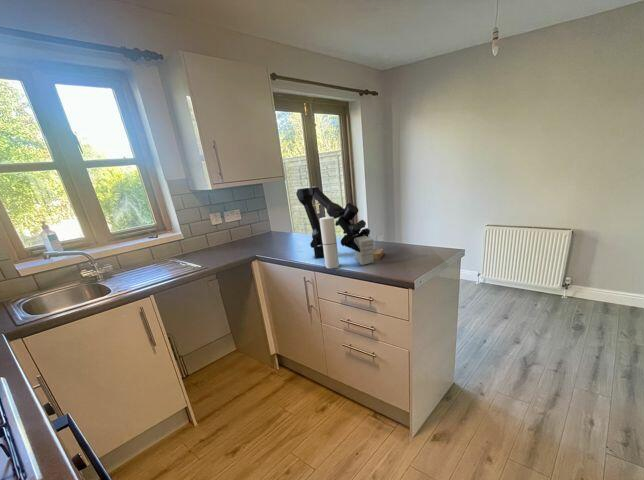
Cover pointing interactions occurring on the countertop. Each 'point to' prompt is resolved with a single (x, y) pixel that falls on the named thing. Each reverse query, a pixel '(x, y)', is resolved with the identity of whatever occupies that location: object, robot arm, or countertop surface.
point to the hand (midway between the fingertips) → (365, 249)
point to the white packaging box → (364, 250)
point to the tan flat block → (378, 253)
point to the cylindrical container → (329, 242)
